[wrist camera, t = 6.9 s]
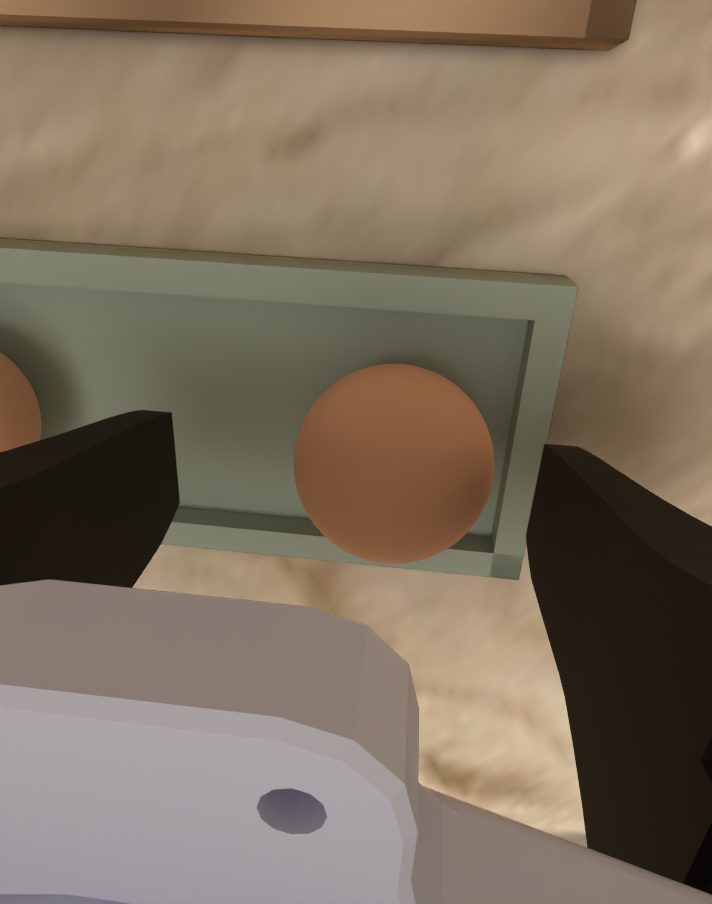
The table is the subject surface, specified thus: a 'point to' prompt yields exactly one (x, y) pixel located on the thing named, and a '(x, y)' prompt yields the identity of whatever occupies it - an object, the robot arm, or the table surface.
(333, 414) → the terracotta ball
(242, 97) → the table surface
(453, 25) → the trough walnut
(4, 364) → the terracotta ball
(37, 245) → the trough green
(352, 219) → the table surface
